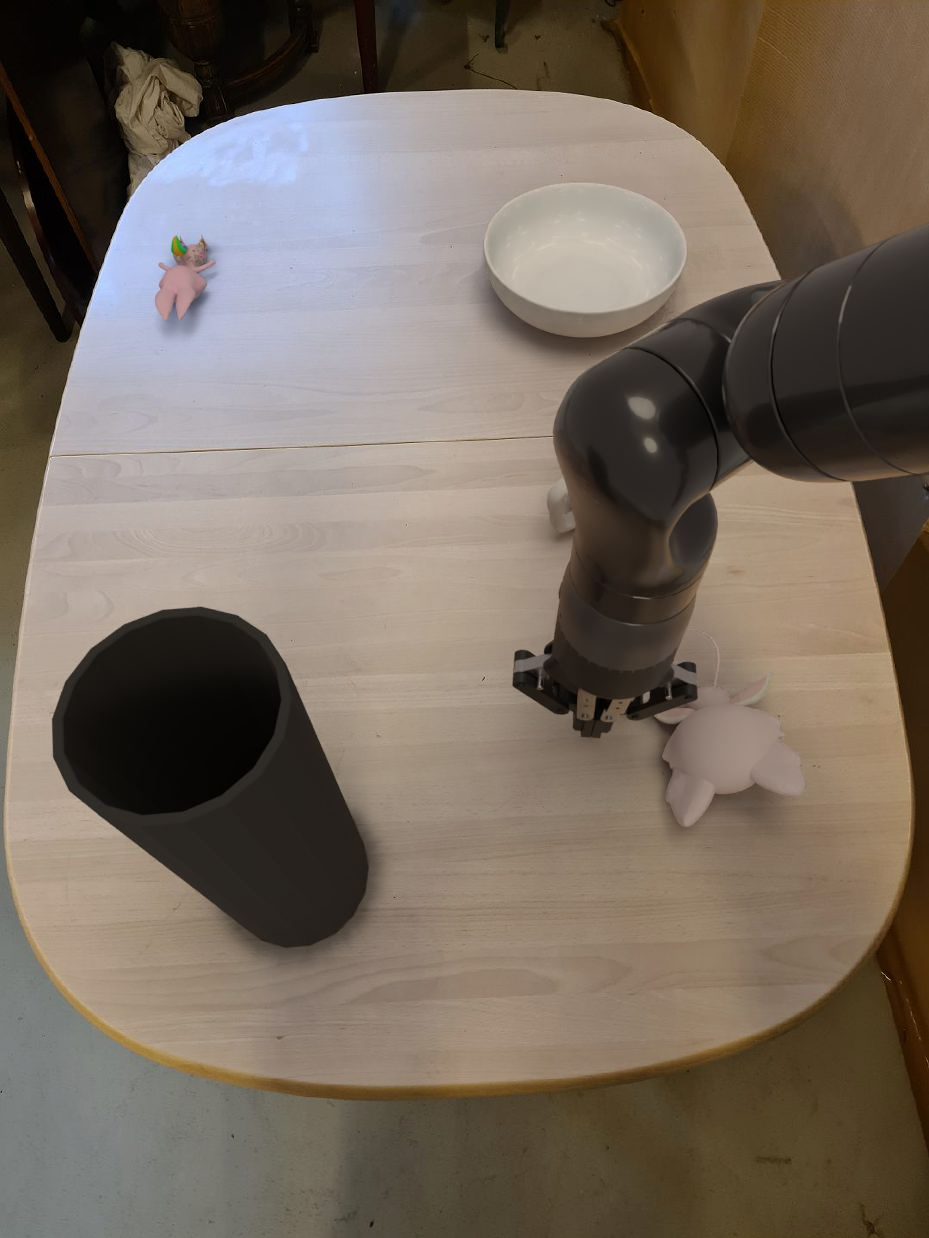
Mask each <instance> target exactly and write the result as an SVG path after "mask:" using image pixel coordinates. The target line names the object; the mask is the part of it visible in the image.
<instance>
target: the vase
mask: <svg viewBox="0 0 929 1238" xmlns="http://www.w3.org/2000/svg"><path fill="white" fill-rule="evenodd" d="M51 732H52V733H51V735H52V736H51V737H52V758H53V761H54V763H55V765H56V767H57V769H58V771H59V772H60V773H59V774H60V775H61V777H62V779H63V781H64V784H65V785H66V788H67V790H68V792H69V793H71V794H72V795H74V796H75V797H76V798H77V799H78V800H79V801H81V802H82V803H83V804H84V805H85V806H87V807H88V808H89V809H90V810H92V811H93V812H94V813H95V814H96V815H98V816H99V817H100V818H101V819H103V820H104V821H106V823H108V824H109V825H111V826H112V827H113V828H114V829H116V830H117V831H118V832H120V833H121V834H123V835H124V837H126V838H127V839H128V840H129V841H131V842H132V843H134V844H136V845H137V846H138V847H139V848H141V849H142V850H143V851H145V852H146V853H147V854H148V855H150V856H151V857H152V858H153V859H155V861H157V862H159V863H160V864H161V865H162V866H164V867H165V868H166V869H168V870H169V871H171V873H173V874H174V875H176V876H177V877H178V878H179V879H181V880H182V881H183V882H184V883H186V884H187V885H189V886H190V887H191V888H192V889H194V890H195V891H196V892H198V893H199V894H200V895H201V896H202V897H204V898H205V899H207V900H208V901H209V902H210V903H212V905H214V906H216V907H217V908H218V909H220V910H221V911H222V912H224V914H226V915H227V916H228V917H230V919H233V920H234V921H235V922H236V923H238V925H240V926H241V927H243V928H244V929H246V931H248V932H250V933H251V934H252V935H253V936H255V938H257V939H258V940H260V941H261V942H265V943H268V944H271V945H274V946H279V947H281V948H298V947H308V946H312V945H314V944H317V943H319V942H321V941H323V940H325V939H327V938H329V937H331V936H333V935H336V934H337V932H338V931H339V930H340V929H342V927H343V926H344V925H346V924H347V922H349V921H350V920H351V918H352V917H354V915H355V913H356V911H357V910H358V908H359V905H360V903H361V901H362V899H363V898H364V895H365V894H366V892H367V891H366V889H367V883H368V876H369V871H370V869H369V868H370V867H369V861H368V857H367V851H366V847H365V843H364V840H363V839H362V837H361V834H360V832H359V829H358V827H357V825H356V822H355V820H354V818H353V815H352V813H351V810H350V809H349V808H350V807H349V806H348V804H347V801H346V799H345V797H344V794H343V792H342V790H341V788H340V785H339V783H338V781H337V778H336V775H335V773H334V771H333V769H332V767H331V765H330V762H329V760H328V758H327V755H326V753H325V750H324V748H323V746H322V744H321V741H320V738H319V737H318V734H317V732H316V729H315V727H314V725H313V723H312V721H311V718H310V716H309V714H308V711H307V709H306V706H305V704H304V702H303V700H302V698H301V695H300V692H299V690H298V688H297V686H296V683H295V681H294V678H293V677H292V674H291V672H290V670H289V668H288V665H287V662H286V661H285V659H284V658H283V657H282V655H281V654H280V653H279V651H278V649H277V648H276V646H275V645H274V643H273V642H272V640H271V639H270V637H269V636H268V634H267V633H265V632H264V631H262V630H261V629H259V628H258V627H256V626H254V625H253V624H251V623H250V622H249V621H247V620H246V619H244V618H243V617H241V616H240V615H238V614H234V613H230V612H226V611H221V610H217V609H213V608H209V607H206V606H192V607H181V608H179V607H177V608H167V609H161V610H158V611H154V612H153V613H150V614H148V615H144V616H142V617H139V618H136V619H134V620H131V621H129V622H125V623H124V624H123V625H121V626H119V627H118V628H117V629H116V630H114V631H112V632H111V633H110V634H108V636H107V635H106V637H104V638H103V639H102V640H100V641H99V642H98V643H96V644H94V646H92V647H91V648H90V649H89V650H88V651H87V652H86V654H85V655H84V656H83V658H81V660H80V661H79V663H78V664H77V665H76V666H75V668H74V670H73V671H72V672H71V673H70V674H69V676H68V677H67V679H66V680H65V681H64V684H63V687H62V689H61V693H60V695H59V698H58V701H57V703H56V707H55V709H54V712H53V715H52V718H51Z"/></svg>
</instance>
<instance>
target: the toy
mask: <svg viewBox="0 0 929 1238" xmlns="http://www.w3.org/2000/svg"><path fill="white" fill-rule="evenodd" d="M688 631H689V632H692V631H693V632H698V633H700V634H703V635H705V636H706V637H707V638H709V640H710V641H711V643H712V644H713V645H714V648H715V653H716V665H715V672H714V675H713V684H712V685H706V686H702V687H698V688H697V692H698V699H697V700H695V701H693V702H690V703H687V704H686V707H682V708H681V707H676V708H673V709H670V710H667V711H664V712H662V713H659V714H656V715H653V716H652V717H654V718H656V719H657V720H658V721H660V722H661V723H664V724H668V725H676V724H678V725H677V726H676V728H675V729H674V731H673V733H672V734H671V736H670V737H669V739H668V740H667V742H666V744H665V746H664V749H663V751H662V754H661V755H662V759H663V760H664V761H665V762H667V763H669V768H670V769H671V770H672V774H671V777H670V780H669V782H668V784H667V787H666V790H665V802H666V803H668V804H669V805H670V807H671V811H672V814H673V817H674V818H675V820H676V823H678V825H680V826H681V827H684V828H689V827H691V826H693V825H694V824H695V823H696V822H697V821H698V820H699V819H700V818H701V817H702V816H703V815H704V814H705V812H706V811H707V809H708V808H709V807H710V804H711V803H712V801H713V798H714V796H715V795H730V794H735V793H739V792H742V791H745V790H747V789H749V788H750V787H752V786H753V785H755V784H757V786H760V788H761V787H762V788H763V789H765V790H766V791H767V790H768V791H770V792H772V793H774V794H778V795H782V796H786V797H789V798H797V797H801V796H802V795H803V794H804V792H805V790H806V785H807V782H806V776H805V775H804V773H803V770H802V768H801V766H803V765H804V760H803V758H802V757H801V755H800V754H799V753H798V752H797V750H795V749H794V748H792V747H791V746H788V745H787V744H785V743H784V742H783V741H782V739H783V738H785V737H786V733H784V732H783V730H781V728H782V727H783V721H782V720H781V719H780V718H779V717H777V716H776V715H773V714H771V713H770V712H767V711H764V710H761V709H758V708H754V707H750V706H752V705H754V704H755V703H757V702H759V701H760V700H761V699H764V696H765V695H767V693H768V692H769V690H770V688H771V684H772V680H773V674H774V671H771V672H768V673H767V674H765V675H764V676H762V677H761V678H760V679H759V680H757V681H754V682H748V683H747V684H746V687H745V689H744V690H743V691H742V692H740V693H738V694H736V695H735V696H732V697H731V694H729V693H728V691H727V690H725V689H724V688H722V687H719V686H717V685H718V684H717V683H718V677H719V669H720V659H721V658H720V657H721V655H720V649H719V647H718V644H717V643H716V641H715V639H713V637H712V636H710V635H709V634H708V633H706V631H703V630H700V629H694V628H687V629H686V631H685V632H688Z"/></svg>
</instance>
